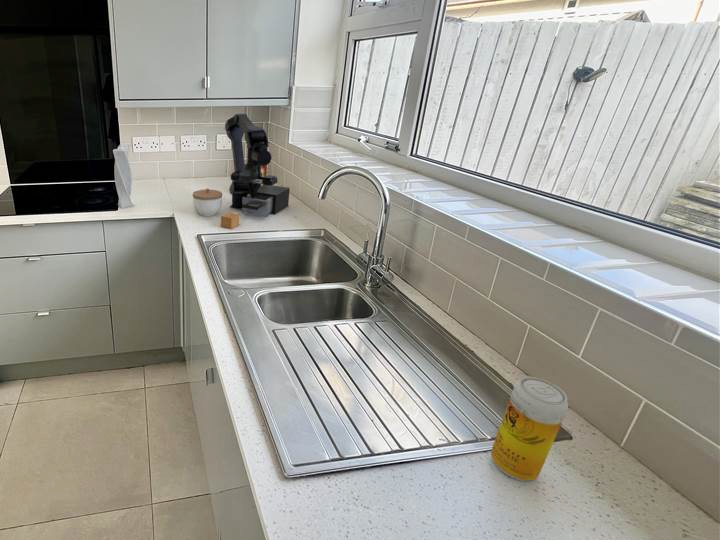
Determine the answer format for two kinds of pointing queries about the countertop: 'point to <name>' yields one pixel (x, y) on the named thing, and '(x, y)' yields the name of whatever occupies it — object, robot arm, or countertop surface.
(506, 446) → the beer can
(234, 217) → the wooden block
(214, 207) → the lidded bowl
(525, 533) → the countertop surface
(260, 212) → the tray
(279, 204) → the drawer box
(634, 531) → the countertop surface
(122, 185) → the skyscraper
